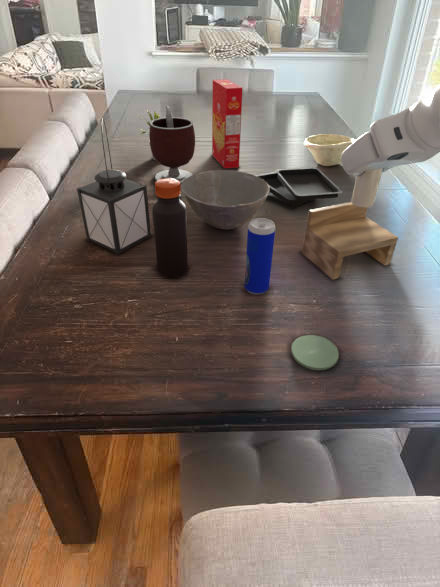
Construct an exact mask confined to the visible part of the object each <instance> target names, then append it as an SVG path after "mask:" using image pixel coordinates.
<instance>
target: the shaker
mask: <svg viewBox="0 0 440 587" xmlns="http://www.w3.org/2000/svg"><path fill="white" fill-rule="evenodd" d="M382 171H383V168H381V169H375V170H369V171H365V172H366V173H364V174H363V175H361V176H357V177H355V182H354V187H353V190H352V195H351V199H350V202H351V203H352V204H354V205H356V206H358V207H368V208H372V207H374V205H375V201H376V198H377V193H378V189H379V186H380V182H381V179H382V175H383V172H382Z"/></svg>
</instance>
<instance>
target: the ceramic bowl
mask: <svg viewBox="0 0 440 587" xmlns="http://www.w3.org/2000/svg"><path fill="white" fill-rule="evenodd" d="M180 186H181V194H182V195H183V196H184V198H185V200H186V202H187V203H188V206H189V207H190V208H191V210H192V211H193V212H194V214H195V215H196V216H197V218H198V219H199V220H201V221H203V222H204V223H206V224H208V225H209V226H211V227H213V228H216V229H222V230H232V229H236V228H239V227H241V226H243V225H245V224H246V223H247V222H249V220H250V221H251V220H252V219H253V216H255V214H256V213H258V211H259V210H260V209H261V207H262V205H264V203H265V201H266V198H267V196H268V194H269V190H270V187H269V185H268V184H267V182H266V181H264V180H263V179H261V178H259V177H257V176H255V174H252V173H249V172H244V171H239V170H227V169H225V170H223V169H222V170H221V169H220V170H217V169H216V170H207V171H203V172H199V173H195V174H193V175H192V176H190V177H187V178H186V179H185V180H183V181H182V184H181V185H180Z"/></svg>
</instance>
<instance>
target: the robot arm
mask: <svg viewBox="0 0 440 587" xmlns="http://www.w3.org/2000/svg"><path fill="white" fill-rule="evenodd" d="M369 130H370V131H367V132H364V134H362V135H360V136H359V137H358V138H356V139H355V140H356V141H355V142H353V143H352V144H351V145H350V146H349V147H348V148H347V149H346V150H345V151H344V152H343V153H342V155H341V161H342V162H341V164H342V168H343V170H344V172H345V173H346V174H347V175H351V174H353V177H355V178H356V177H357V176H361V175H363V174H364V173H366V172H365V171H369V170H375V169H381V168H383V171H382V173H385V172H387V171H388V170H390V169H393V168H396V167H399V166H405V165H411V164H418V163H423V162H426V161H428V160H430V159H432V158H434V156H437V155H438V154H439V153H440V83H439V84H438V85H437V86H436V87H435V88H434V89H433V91H432V92H431V94H429V95H428V96H425V97H422V98H421V99H419V100H418V101H417V102H415V103H414V104H412V106H410V107H407V108H405V109H404V110H402V111H399V112H398V113H396V114H391V115H389V116H386V117H383V118H379V119H377V120H375V121H374V122H373V123H371V124H370V126H369Z"/></svg>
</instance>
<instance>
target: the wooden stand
mask: <svg viewBox="0 0 440 587" xmlns="http://www.w3.org/2000/svg"><path fill="white" fill-rule="evenodd" d="M368 209H369V207H358V206H356V205H354V204H352V203H351V201H349V202H344V203H339V204H334V205H328V206H324V207H319V208H314V209H309V210H308V214H307V220H306V225H305V226H306V227H305V232H304V237H303V243H302V244H303V245H302V250H301V253H302V255H303V256H305V257H306V258H307V259H308V260H309V261H310V262H312V263H313V264H314V265H315V266H316V267H318V268H319V269H320V270H321V271H322V272H323V273H324V274H325V275H326V276H328V277H329V278H330V279H331V280H336V279H339V277H340V274H341V270H342V265H343V260H344V257H348V256H353V255H356V254H361V253H363V252H364V253H366V254H368V256H371V257H372V258H373V259H375V260H376V261H378V262H379V263H380V264H381V265H383V266H384V267H385V266H388V265H391V263H392V259H393V256H394V253H395V250H396V246H397V243H398V239H399V236H397V235H395V234H394V233H392V232H391V231H389V230H387V229H386V228H384V227H383V226H381V225H379V224H378V223H376V222H375V221H374V220H372V219H370V218H368V217H367V212H368Z"/></svg>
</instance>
